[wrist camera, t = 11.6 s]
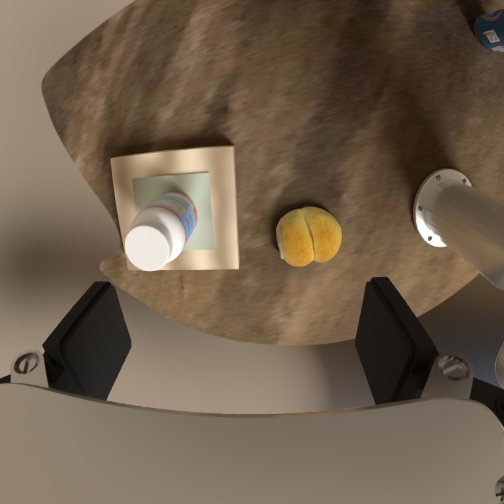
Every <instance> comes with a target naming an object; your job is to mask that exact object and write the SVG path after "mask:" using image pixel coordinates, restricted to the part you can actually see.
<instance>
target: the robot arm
mask: <svg viewBox="0 0 504 504" xmlns="http://www.w3.org/2000/svg"><path fill="white" fill-rule="evenodd" d="M413 220H414V225H415V228H416V230H417V232H418V234H419V235H420V236H421V238H422V239H423V240H424V241H426V242H427V243H428V244H430V245H432V246H436V247H445V246H448V247H449V248H451V249H452V250H453V251H454V252H456V253H457V254H458V255H459V256H461V257H462V258H463V259H464V260H466V261H467V262H468V263H469V264H470V265H472V266H473V267H474V268H475V269H476V270H478V271H479V272H480V273H481V274H482V275H484V276H485V277H486V278H487V279H488V280H489V281H490V282H492V283H493V284H494V285H495V286H497V287H498V288H500V289H502V290H504V201H502V200H500V199H498V198H496V197H494V196H492V195H489V194H487V193H485V192H482V191H480V190H478V189H475V188H473V187H472V186H471V183H470V182H469V180H468V179H467V177H466V176H464V175H463V174H462V173H460V172H459V171H457V170H454V169H448V168H444V169H439V170H437V171H434V172H433V173H431V174H430V175H429V176H428V177H427V178H426V179H425V180H424V181H423V183H422V184H421V185H420V187H419V189H418V191H417V193H416V197H415V200H414V205H413ZM42 346H43V348H44V350H45V352H44V354H42V353H41V352H40V351H37V350H28V351H25V352H22V353H21V354H19V355H18V356H17V357H16V358H15V359H14V360H13V362H12V364H11V374H10V375H8V376H5V377H3V378H0V504H504V343H503V346H502V347H501V349H500V351H499V354H498V356H497V359H496V365H495V372H496V377H497V379H498V381H499V383H500V385H501V386H502V388H503V389H502V388H499V387H496V386H494V385H491V384H489V383H486V382H484V381H481V380H479V379H476V378H474V368H473V365H472V363H471V362H470V361H469V360H468V359H467V358H466V357H465V356H463V355H461V354H459V353H454V352H445V353H442V354H439V352H438V351H437V349H436V347H435V345H434V343H433V342H432V340H431V339H430V337H429V335H428V334H427V332H426V331H425V329H424V328H423V326H422V325H421V323H420V322H419V321H418V319H417V318H416V316H415V315H414V313H413V312H412V310H411V309H410V307H409V306H408V305H407V303H406V302H405V300H404V299H403V297H402V296H401V295H400V293H399V292H398V291H397V289H396V288H395V286H394V285H393V284H392V282H391V281H390V280H389V278H388V277H373V278H372V279H371V281H370V282H367V283H366V287H365V293H364V298H363V304H362V309H361V314H360V319H359V324H358V329H357V334H356V339H355V346H356V350H357V353H358V355H359V358H360V361H361V364H362V366H363V369H364V372H365V375H366V378H367V381H368V384H369V386H370V389H371V392H372V395H373V398H374V401H375V404H376V405H372V406H364V407H357V408H348V409H339V410H329V411H318V412H305V413H286V414H220V413H219V414H218V413H200V412H186V411H175V410H167V409H158V408H150V407H142V406H135V405H129V404H123V403H117V402H112V401H106V400H107V397H108V395H109V393H110V391H111V389H112V387H113V384H114V382H115V380H116V378H117V376H118V374H119V372H120V370H121V367H122V365H123V363H124V361H125V359H126V357H127V355H128V353H129V351H130V349H131V338H130V335H129V332H128V329H127V326H126V323H125V320H124V317H123V314H122V310H121V307H120V303H119V300H118V296H117V293H116V289H115V287H114V286H113V285H111V283H110V282H102V281H99V282H97V281H96V282H94V283H93V284H92V286H91V287H90V288H89V289H88V290H87V291H86V292H85V294H84V295H83V296H82V297H81V298H80V299H79V301H78V302H77V303H76V304H75V305H74V306H73V307H72V309H71V310H70V311H69V312H68V313H67V315H66V316H65V317H64V318H63V319H62V321H61V322H60V323H59V324H58V326H57V327H56V328H55V329H54V331H53V332H52V333H51V334H50V336H49V337H48V338H47V339H46V341H45V342H44V343H43V345H42Z"/></svg>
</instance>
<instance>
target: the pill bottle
mask: <svg viewBox="0 0 504 504" xmlns="http://www.w3.org/2000/svg"><path fill="white" fill-rule="evenodd" d="M197 220H198V214H197V209H196V207H195V205H194V203H193V202H192V201H191V200H190V199H189V198H188V197H186V196H184V195H182V194H179V193H166V194H164V195H162V196H160V197H159V198H157V199H156V200H155V201H154V202H152V203H151V204H150V205H149V206H147V207H146V208H145V209H144V210H142V211H141V212H140V213H139V214H138V215H137V216H136V217H135V218H134V220H133V221H132V223H131V226H130V231H129V232H128V234H127V236H126V238H125V244H124V246H125V252H126V255H127V257H128V259H129V260H130V261H131V263H132V264H134V265H135V266H136V267H138V268H139V269H142V270H145V271H155V270H158V269H160V268H161V267H163V266H164V265H165V264H166V263H168V262H170V261H172V260H174V259H175V258H176V257H177V256H178V255H179V254H180V253H181V251H182V250H183V248H184V246H185V244H186V243H187V241H188V239H189V237H190V236H191V234H192V232H193V230H194V229H195V227H196V224H197Z"/></svg>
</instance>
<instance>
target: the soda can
mask: <svg viewBox="0 0 504 504" xmlns="http://www.w3.org/2000/svg"><path fill="white" fill-rule="evenodd" d="M474 31H475V34H476V36H477V38H478V40H479V41H480V43H481V44H482V45H483V46H484V47H486V48H487V49H489V50H491V51H493V52H503V51H504V9H502V10H498V11H494V12H491V13H487V14H484V15H481V16H478V17H477V18H476V20H475V23H474Z"/></svg>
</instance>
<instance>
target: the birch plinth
mask: <svg viewBox="0 0 504 504" xmlns="http://www.w3.org/2000/svg"><path fill="white" fill-rule="evenodd" d="M111 168H112V177H113V185H114V192H115V199H116V206H117V212H118V218H119V224H120V230H121V235H122V241H123V246H124V244H125V238H126V236H127V234H128V232H129V231H130V226H131V223H132V221H133V220H134V218H135V217H136V216H137V215H138V214H139V213H140V212H141V211H142V210H144V209H145V208H146V207H147V206H149V205H150V204H151V203H152V202H154V201H155V200H156V199H157V198H159V197H160V196H162V195H164V194H166V193H179V194H182V195H184V196H186V197H188V198H189V199H190V200H191V201H192V202H193V203H194V205H195V207H196V209H197V214H198V220H197V224H196V227H195V229H194V230H193V232H192V234H191V236H190V237H189V239H188V241H187V243H186V244H185V246H184V248H183V250H182V251H181V253H180V254H179V255H178V256H177V257H176V258H175V259H174V260H172V261H170V262H168V263H166V264H165V265H164V266H163V267H161V268H160V269H158V270H201V269H239V261H240V256H239V235H238V214H237V191H236V167H235V145H229V146H211V147H196V148H184V149H173V150H163V151H154V152H146V153H138V154H131V155H124V156H118V157H115V158H111ZM124 251H125V246H124ZM125 256H126V261H127V265H128V270H142V269H139V268H138V267H136V266H135V265H134V264H132V263H131V261H130V260H129V259H128V257H127V255H126V252H125Z"/></svg>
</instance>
